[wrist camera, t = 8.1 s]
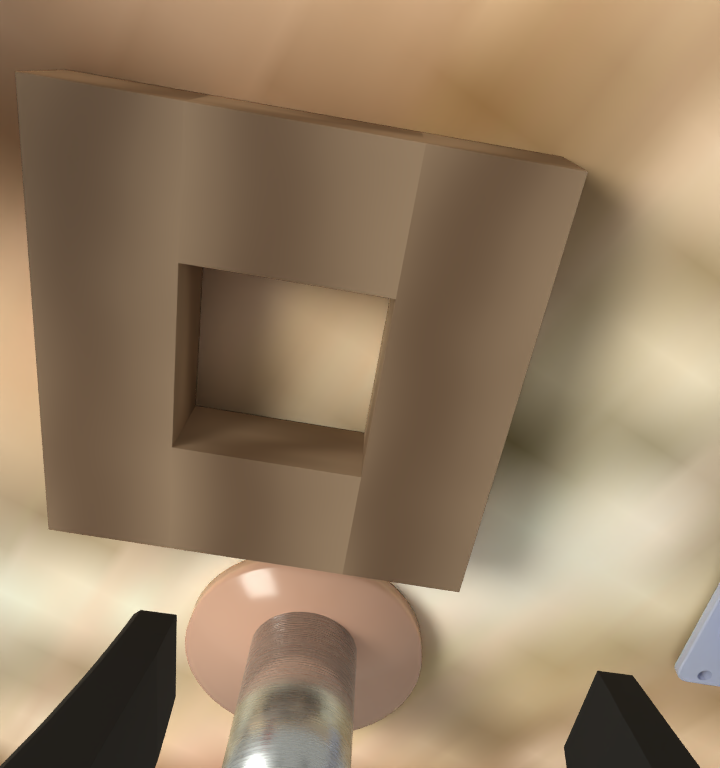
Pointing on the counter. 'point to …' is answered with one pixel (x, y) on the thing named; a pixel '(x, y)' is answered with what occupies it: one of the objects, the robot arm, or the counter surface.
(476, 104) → the counter surface
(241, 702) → the round metal peg
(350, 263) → the pocket block
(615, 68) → the counter surface
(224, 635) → the coaster
